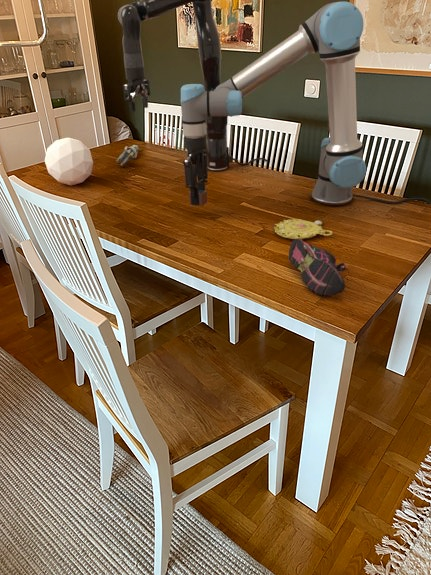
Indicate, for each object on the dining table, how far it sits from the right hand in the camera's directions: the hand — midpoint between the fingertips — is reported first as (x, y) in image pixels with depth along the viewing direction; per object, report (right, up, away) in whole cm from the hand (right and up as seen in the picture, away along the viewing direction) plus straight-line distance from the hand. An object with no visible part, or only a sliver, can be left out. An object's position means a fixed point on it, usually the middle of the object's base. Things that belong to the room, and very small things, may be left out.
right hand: (198, 202), depth 159 cm
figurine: (-37, +34, +64) cm, 81 cm away
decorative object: (+35, -13, -13) cm, 39 cm away
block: (0, 0, 0) cm, 0 cm away
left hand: (-25, +43, +23) cm, 54 cm away
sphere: (-56, +15, +36) cm, 68 cm away
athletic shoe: (+35, -28, -37) cm, 58 cm away
